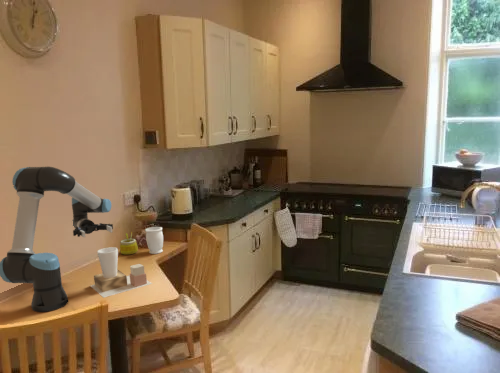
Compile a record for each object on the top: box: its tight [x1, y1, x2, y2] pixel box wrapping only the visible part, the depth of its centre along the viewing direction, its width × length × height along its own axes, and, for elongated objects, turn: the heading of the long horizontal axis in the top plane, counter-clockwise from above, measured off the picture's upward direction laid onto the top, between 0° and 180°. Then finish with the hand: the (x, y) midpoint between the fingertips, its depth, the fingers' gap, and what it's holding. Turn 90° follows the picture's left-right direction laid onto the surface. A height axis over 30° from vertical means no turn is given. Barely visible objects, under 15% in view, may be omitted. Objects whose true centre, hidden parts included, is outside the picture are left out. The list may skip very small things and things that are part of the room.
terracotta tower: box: [129, 263, 148, 287], centre depth 213 cm, size 6×6×9 cm
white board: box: [90, 274, 153, 299], centre depth 214 cm, size 24×20×2 cm
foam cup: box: [96, 246, 119, 278], centre depth 211 cm, size 10×9×13 cm
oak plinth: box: [93, 269, 127, 292], centre depth 213 cm, size 12×12×5 cm
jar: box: [144, 226, 164, 255], centre depth 269 cm, size 11×10×15 cm
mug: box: [119, 231, 139, 256], centre depth 272 cm, size 13×11×12 cm
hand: (98, 232), depth 220 cm, fingers open, 13 cm apart
